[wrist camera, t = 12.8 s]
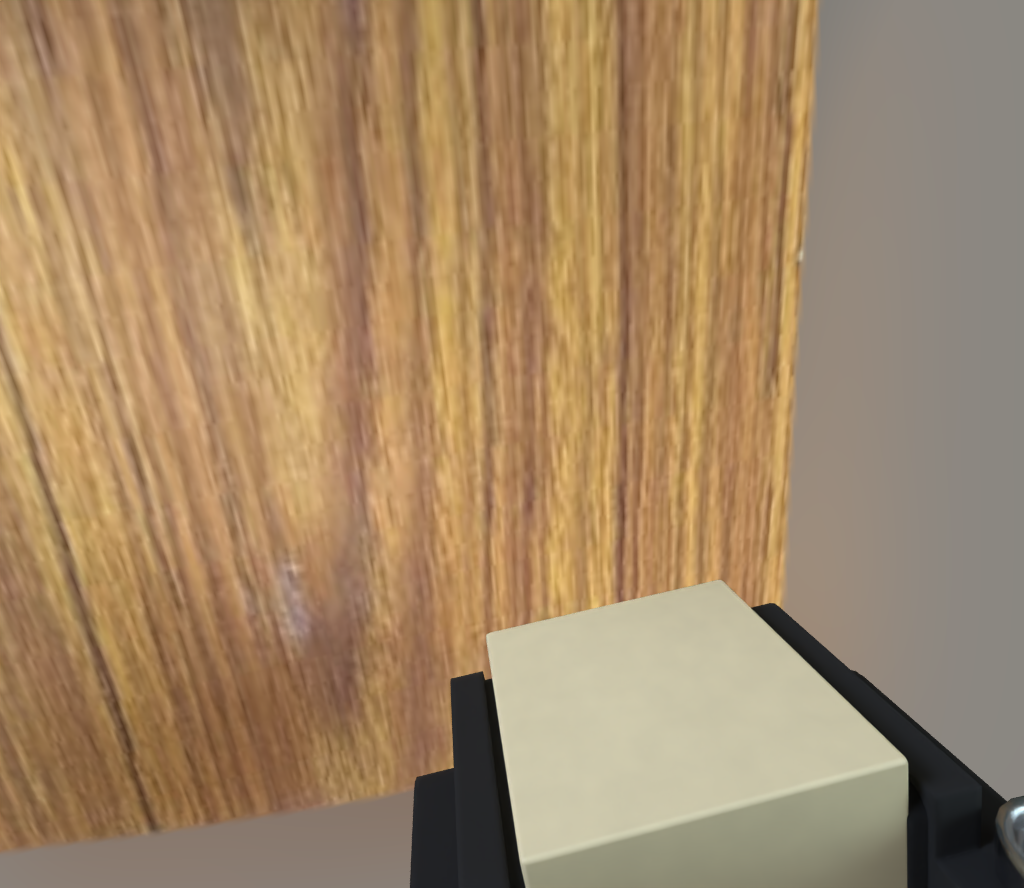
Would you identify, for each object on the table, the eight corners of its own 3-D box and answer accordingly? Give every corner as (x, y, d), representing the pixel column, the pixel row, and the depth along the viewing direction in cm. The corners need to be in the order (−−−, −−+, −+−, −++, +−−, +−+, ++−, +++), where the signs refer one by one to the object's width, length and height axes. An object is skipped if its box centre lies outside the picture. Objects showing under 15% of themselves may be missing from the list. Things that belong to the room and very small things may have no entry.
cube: (721, 577, 10) (911, 759, 6) (740, 772, 11) (911, 1037, 7) (484, 632, 9) (519, 863, 5) (527, 828, 10) (581, 1138, 6)
